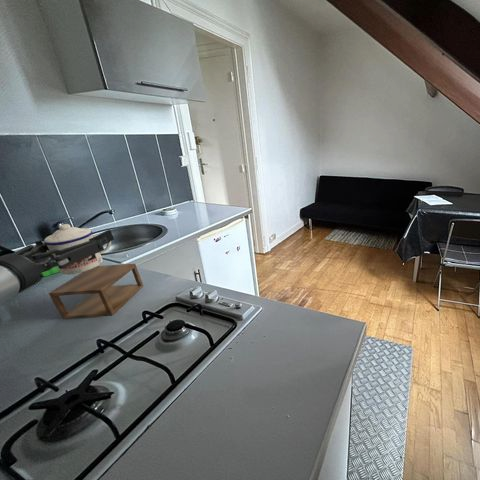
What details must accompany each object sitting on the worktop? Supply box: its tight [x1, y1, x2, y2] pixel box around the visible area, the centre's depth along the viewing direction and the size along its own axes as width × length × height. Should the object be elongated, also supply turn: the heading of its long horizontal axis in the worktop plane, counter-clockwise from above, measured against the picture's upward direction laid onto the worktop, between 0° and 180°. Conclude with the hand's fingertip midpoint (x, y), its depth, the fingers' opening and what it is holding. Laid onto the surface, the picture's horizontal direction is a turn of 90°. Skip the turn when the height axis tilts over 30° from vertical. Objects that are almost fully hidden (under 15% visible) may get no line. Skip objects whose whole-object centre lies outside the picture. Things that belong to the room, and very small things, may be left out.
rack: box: [48, 263, 144, 320], centre depth 73 cm, size 13×14×8 cm
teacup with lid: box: [43, 223, 112, 275], centre depth 67 cm, size 12×9×12 cm
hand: (90, 236), depth 70 cm, fingers closed on teacup with lid, 10 cm apart
